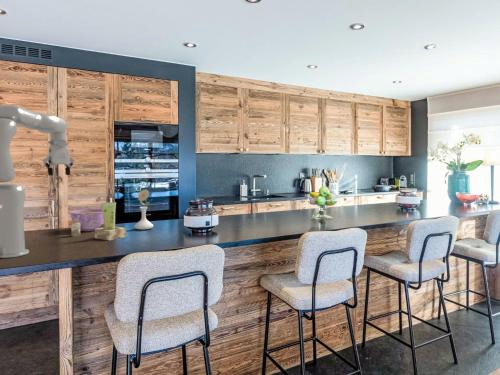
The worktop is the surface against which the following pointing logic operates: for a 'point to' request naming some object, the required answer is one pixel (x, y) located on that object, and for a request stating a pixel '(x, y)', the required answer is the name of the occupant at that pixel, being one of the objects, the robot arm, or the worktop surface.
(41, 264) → the worktop surface
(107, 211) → the tube
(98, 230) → the collar block
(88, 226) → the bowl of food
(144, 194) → the flower in vase
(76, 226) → the short dowel
